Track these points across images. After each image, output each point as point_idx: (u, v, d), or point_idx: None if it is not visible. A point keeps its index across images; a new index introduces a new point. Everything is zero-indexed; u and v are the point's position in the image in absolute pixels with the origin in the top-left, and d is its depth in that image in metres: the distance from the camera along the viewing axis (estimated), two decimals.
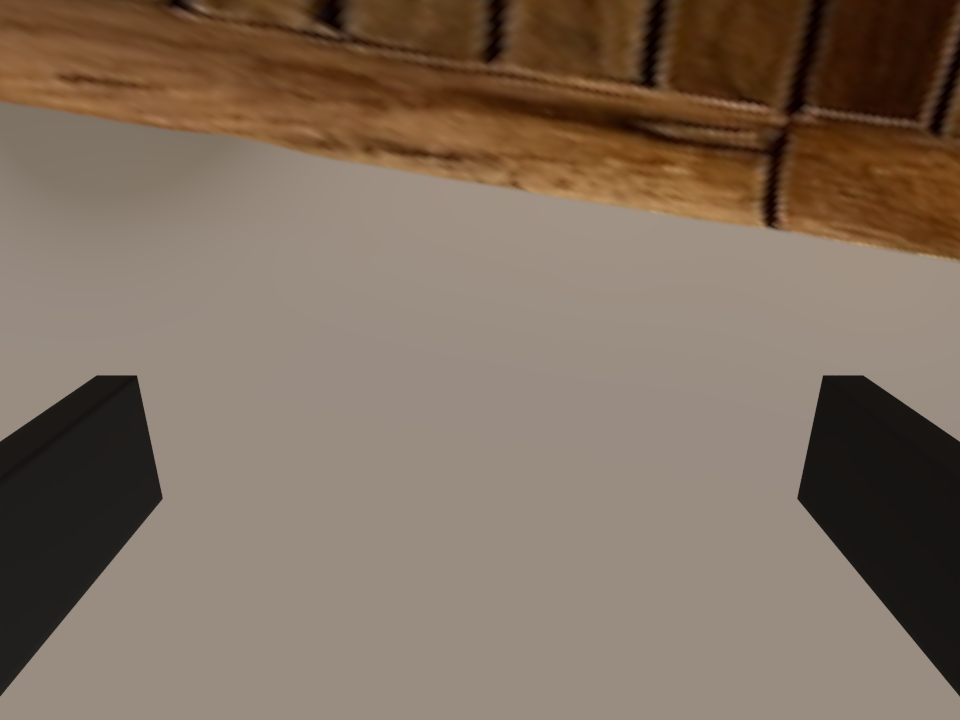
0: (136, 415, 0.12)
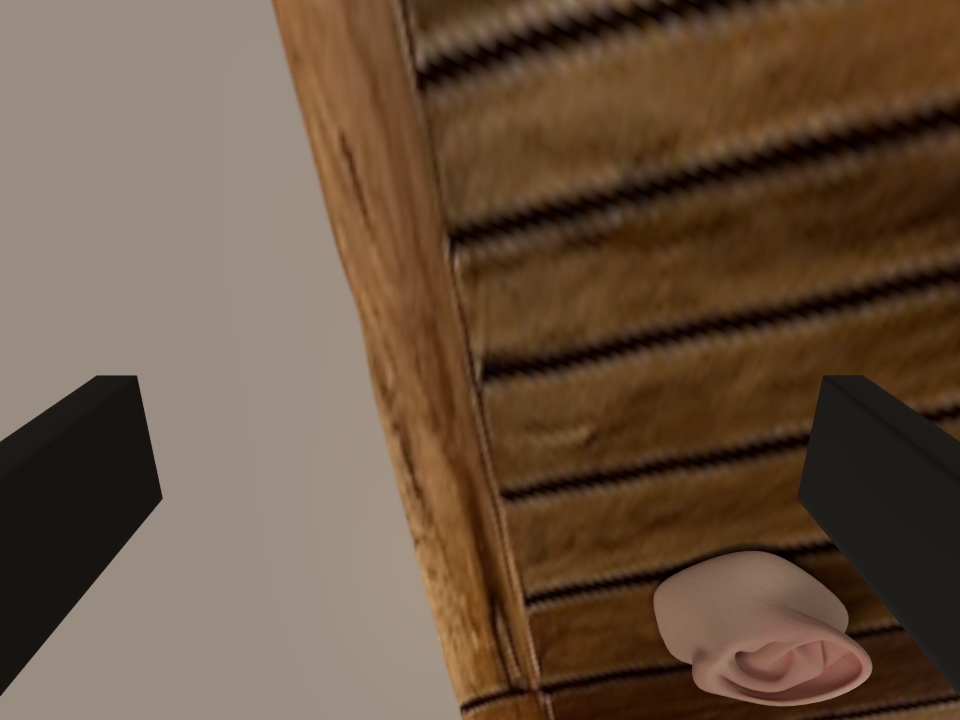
0: (136, 414, 0.12)
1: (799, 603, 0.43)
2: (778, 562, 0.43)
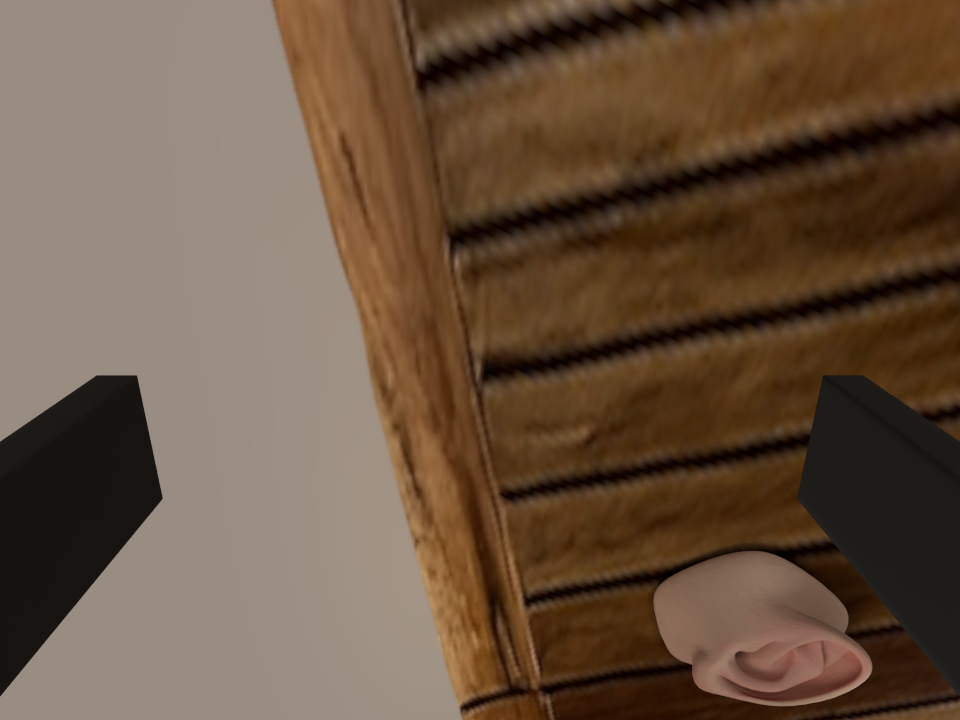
0: (136, 414, 0.12)
1: (799, 603, 0.43)
2: (778, 562, 0.43)
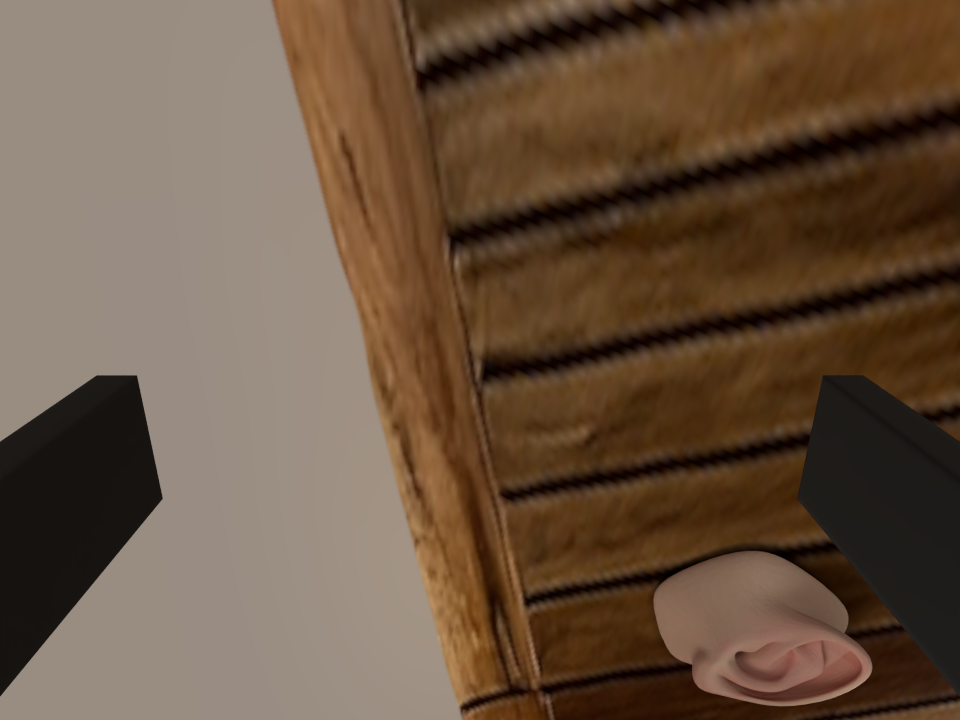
0: (136, 414, 0.12)
1: (799, 603, 0.43)
2: (778, 562, 0.43)
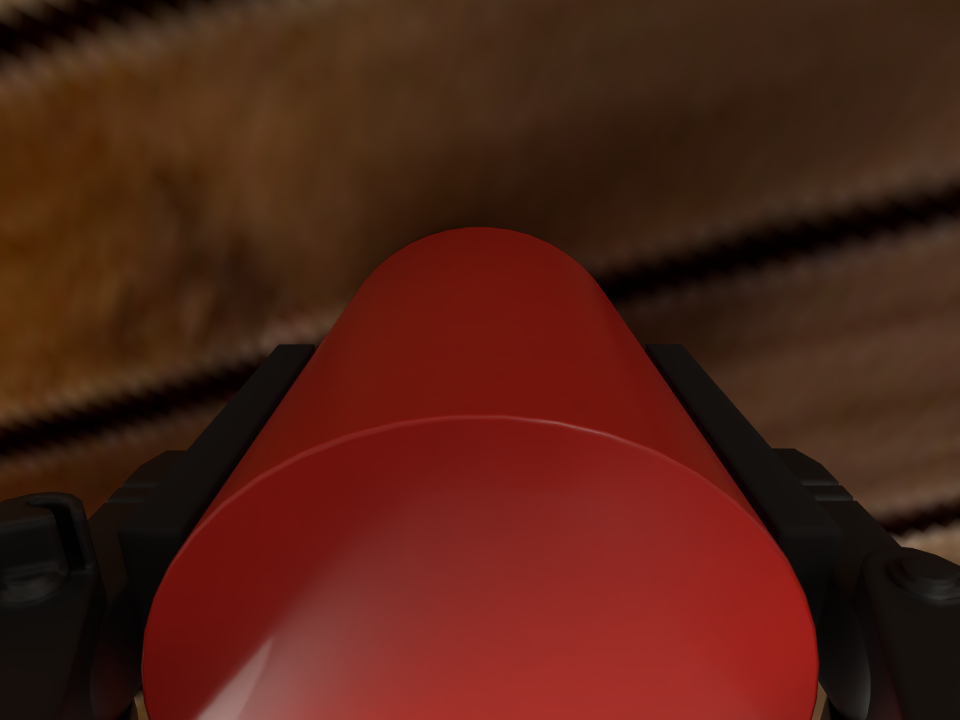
0: None
1: None
2: None
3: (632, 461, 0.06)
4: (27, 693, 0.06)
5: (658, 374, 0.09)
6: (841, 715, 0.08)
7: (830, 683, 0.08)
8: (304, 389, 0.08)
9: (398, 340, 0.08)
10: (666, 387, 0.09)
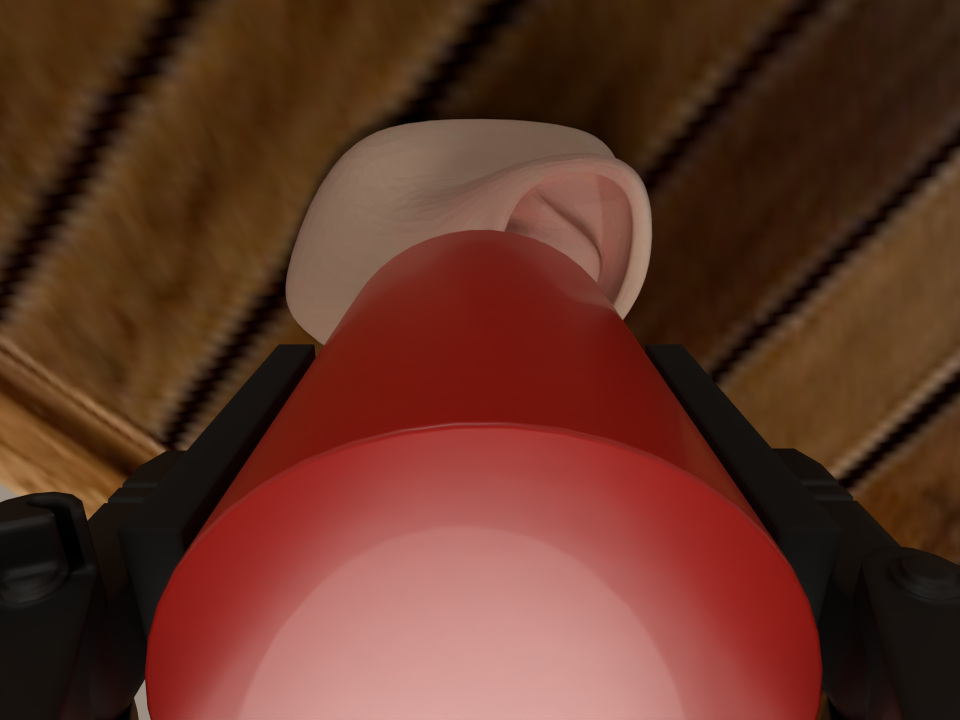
0: None
1: (477, 170, 0.23)
2: (399, 133, 0.23)
3: (636, 467, 0.06)
4: (27, 693, 0.06)
5: (660, 378, 0.09)
6: (840, 715, 0.08)
7: (830, 683, 0.08)
8: (307, 394, 0.08)
9: (400, 346, 0.08)
10: (668, 391, 0.09)
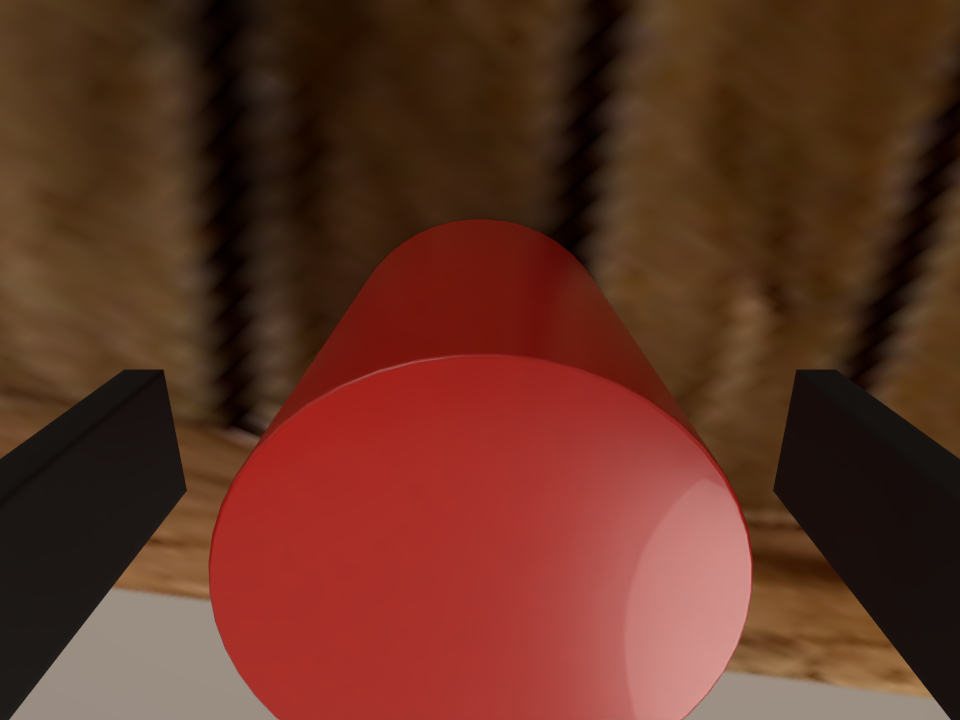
0: (163, 408, 0.12)
1: None
2: None
3: (600, 390, 0.07)
4: None
5: (632, 340, 0.11)
6: None
7: None
8: (335, 348, 0.09)
9: (412, 306, 0.09)
10: (638, 349, 0.10)
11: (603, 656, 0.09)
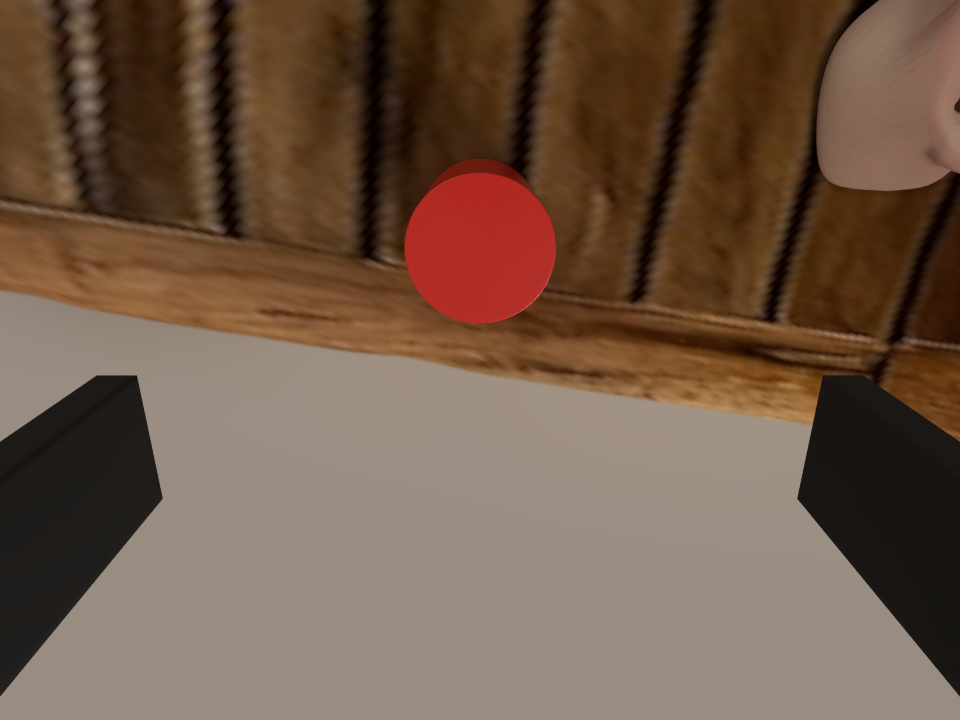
0: (136, 415, 0.12)
1: (934, 6, 0.33)
2: (865, 19, 0.34)
3: (510, 183, 0.29)
4: None
5: (531, 189, 0.32)
6: None
7: None
8: (435, 184, 0.31)
9: (459, 171, 0.31)
10: None
11: (515, 269, 0.30)
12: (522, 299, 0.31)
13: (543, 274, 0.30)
